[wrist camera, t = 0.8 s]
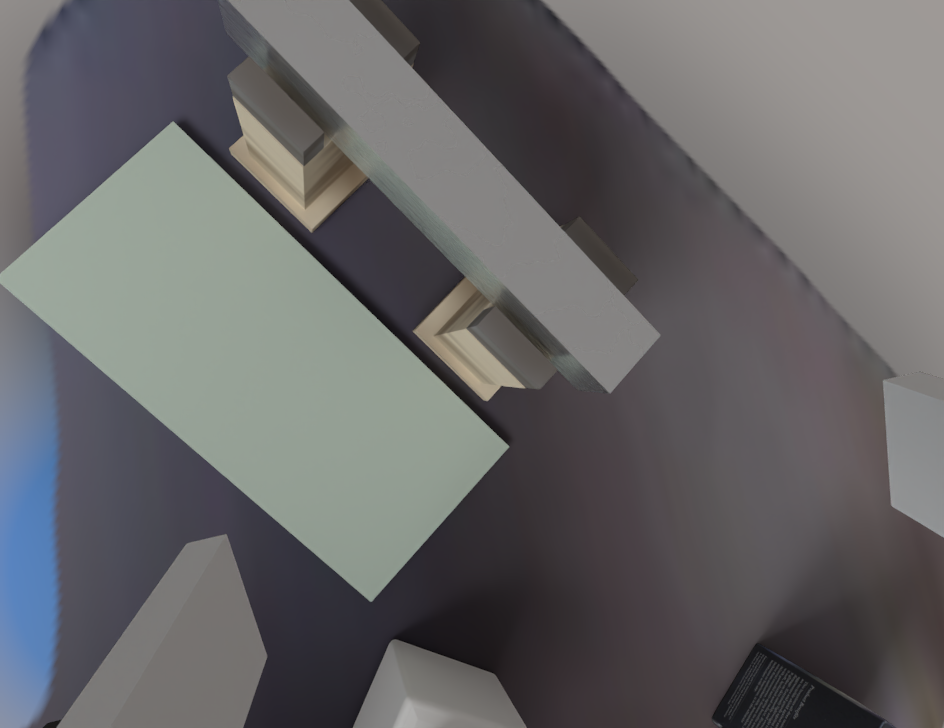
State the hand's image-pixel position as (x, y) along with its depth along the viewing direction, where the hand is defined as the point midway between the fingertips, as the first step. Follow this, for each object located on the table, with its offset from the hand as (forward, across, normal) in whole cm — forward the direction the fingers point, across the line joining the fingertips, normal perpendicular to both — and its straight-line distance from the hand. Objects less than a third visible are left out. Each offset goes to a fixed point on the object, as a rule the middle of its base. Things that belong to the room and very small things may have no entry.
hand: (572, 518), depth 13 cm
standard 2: (+28, +6, -11) cm, 31 cm away
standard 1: (+27, -2, +1) cm, 27 cm away
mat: (+25, +11, 0) cm, 27 cm away
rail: (+19, 0, -7) cm, 20 cm away
